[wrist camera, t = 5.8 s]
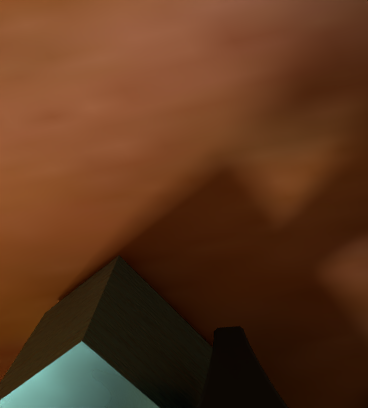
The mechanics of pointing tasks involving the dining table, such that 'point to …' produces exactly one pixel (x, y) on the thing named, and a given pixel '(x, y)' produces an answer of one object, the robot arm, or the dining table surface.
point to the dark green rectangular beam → (109, 350)
